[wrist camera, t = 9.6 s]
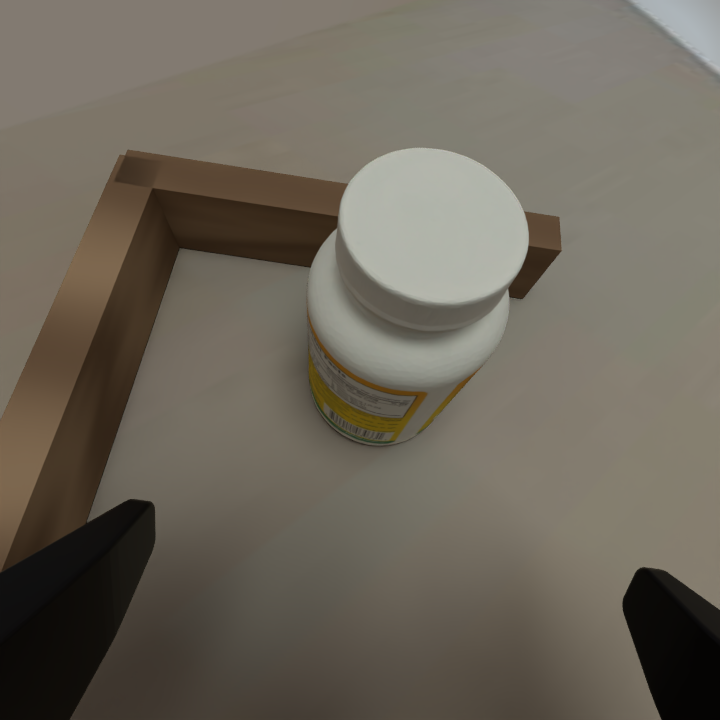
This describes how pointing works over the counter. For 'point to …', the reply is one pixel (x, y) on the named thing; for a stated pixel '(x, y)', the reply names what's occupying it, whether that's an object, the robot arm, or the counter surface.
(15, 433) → the walnut corner walls
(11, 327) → the counter surface
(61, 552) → the robot arm
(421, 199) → the supplement bottle
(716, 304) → the counter surface
